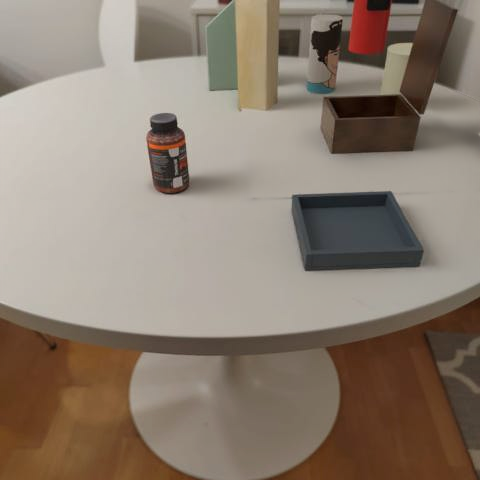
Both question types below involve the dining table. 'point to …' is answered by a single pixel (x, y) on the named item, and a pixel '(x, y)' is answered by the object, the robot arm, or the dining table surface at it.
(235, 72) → the green magazine holder
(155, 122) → the supplement bottle
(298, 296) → the dining table surface
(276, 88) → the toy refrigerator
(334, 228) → the tray
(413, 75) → the chest lid
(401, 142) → the chest
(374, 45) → the ketchup bottle
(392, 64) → the can
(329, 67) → the cup
